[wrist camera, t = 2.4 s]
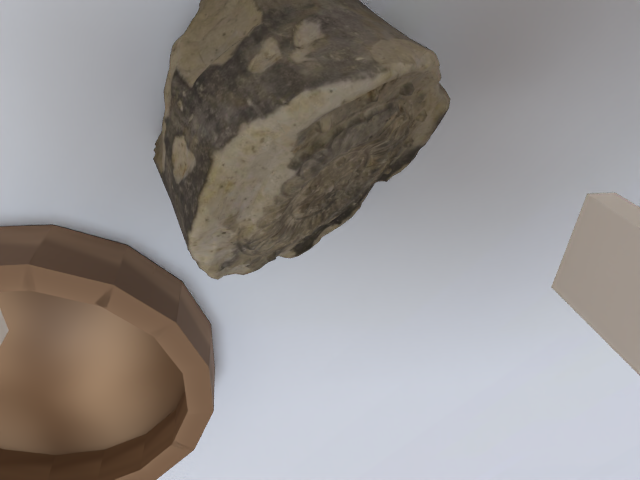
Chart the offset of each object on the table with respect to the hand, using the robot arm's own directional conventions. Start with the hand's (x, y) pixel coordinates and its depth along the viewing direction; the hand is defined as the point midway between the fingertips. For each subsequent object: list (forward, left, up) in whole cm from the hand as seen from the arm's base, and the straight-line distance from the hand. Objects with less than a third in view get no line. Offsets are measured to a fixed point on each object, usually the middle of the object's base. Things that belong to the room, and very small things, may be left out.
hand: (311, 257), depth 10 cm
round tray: (+11, +12, -10) cm, 19 cm away
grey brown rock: (-1, 0, -11) cm, 11 cm away
